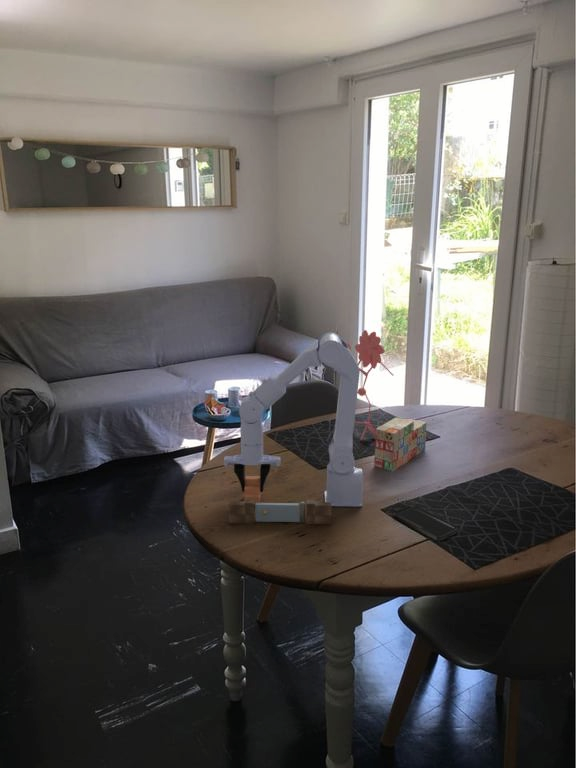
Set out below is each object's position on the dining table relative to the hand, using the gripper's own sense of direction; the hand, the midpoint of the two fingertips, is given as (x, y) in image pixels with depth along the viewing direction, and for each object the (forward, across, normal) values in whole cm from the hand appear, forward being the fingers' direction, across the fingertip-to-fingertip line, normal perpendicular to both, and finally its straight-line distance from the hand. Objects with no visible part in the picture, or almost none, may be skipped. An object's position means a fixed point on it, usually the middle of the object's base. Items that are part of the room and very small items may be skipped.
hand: (252, 490), depth 167 cm
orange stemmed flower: (+3, -35, -50) cm, 61 cm away
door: (+2, -8, +12) cm, 15 cm away
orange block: (+2, 0, +1) cm, 2 cm away
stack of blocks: (+3, -43, -28) cm, 52 cm away
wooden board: (+2, -7, +12) cm, 14 cm away
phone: (+3, -43, +12) cm, 45 cm away
